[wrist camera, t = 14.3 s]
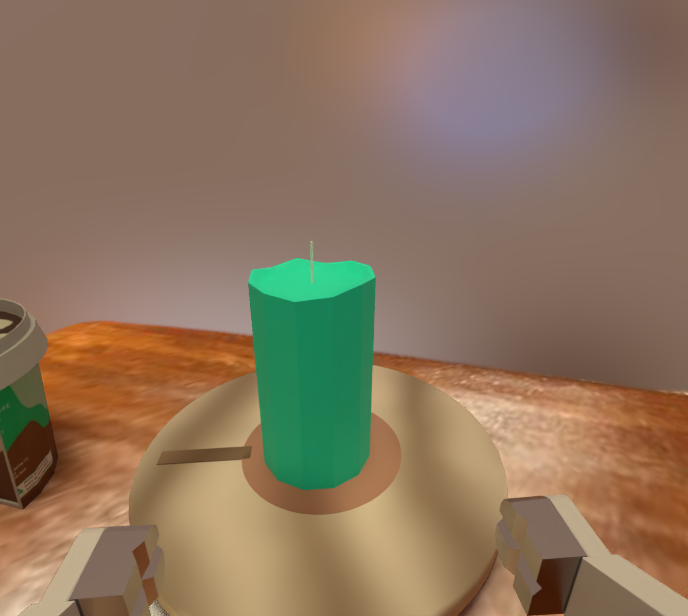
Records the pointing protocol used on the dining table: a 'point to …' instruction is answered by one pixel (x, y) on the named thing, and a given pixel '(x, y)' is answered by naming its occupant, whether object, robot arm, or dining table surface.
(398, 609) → the turntable
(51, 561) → the dining table surface
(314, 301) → the candle
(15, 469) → the food container
